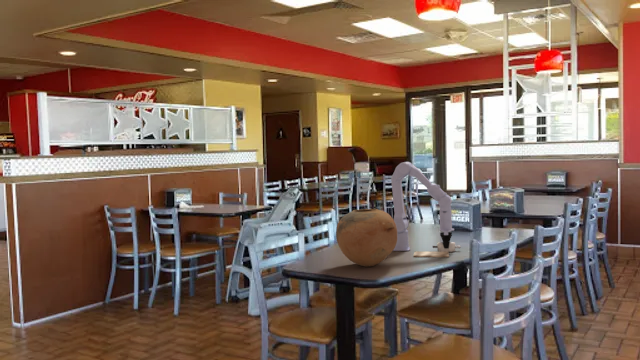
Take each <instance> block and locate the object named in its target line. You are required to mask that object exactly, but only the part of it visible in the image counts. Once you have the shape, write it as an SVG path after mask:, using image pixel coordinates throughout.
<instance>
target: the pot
mask: <svg viewBox="0 0 640 360" xmlns="http://www.w3.org/2000/svg"><path fill="white" fill-rule="evenodd" d="M335 229H336V231H335V232H336V233H335V237H336V243H337V244H338V247H339V249H340V251H341V252H342V254H343V255H344V256H345V258H347V259H348V261H350V262H351V263H354V264H355V265H358V266H361V267H365V268H367V267H374V266H377V265H379V264H380V263H381V264H382V262H383V261H385V260H386V259H387V257H389V256H390V255H391V253H393V252H394V251H393V250H394V248H395V246H396V243H397V227H396V224H395V222H394V217H392V216H391V215H390V213H388V212H386V211H384V210H380V209H378V208H366V209H365V208H364V209H353V210H352V211H350V212H348V213H346V214H345V215H343V216H342V217H341V218H340V220H339V221H338V223H337V224H336V228H335Z"/></svg>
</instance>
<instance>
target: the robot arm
mask: <svg viewBox="0 0 640 360" xmlns="http://www.w3.org/2000/svg"><path fill="white" fill-rule="evenodd" d="M407 176H409V177H413V178H416V179H417V180H418V181H419V182H420V183H421V184H422V185H423V186H424V187H425V188H426V190H427V191H426V192H427V193H428V194H429V195H430V196H431V197H432V199H434V200H435V201H436V202H437V203H438V205H439V231H440V233H439V235H440V238H441V239H442V242H443V246H444V248H449V243H450V242H451V238H452V236H453V233H452V231H453V232H454V231H455V228H453V224H452V223H453V221H452V220H453V219H452V217H453V216H452V205H451V204H452V202H453V200H452V197H451V196H450V195H449V194H447V192H445V191H444V190H443V189H442V188H441V185H440V184H437V183H432V181H430V180H429V179H428V178H427V176H425V175H424V173H422V171H421V170H420V169H419V168H418V167H417V166H415V165H413V163H412V162H410V161H404V162H400V163H399V164H398V165H397V166H396V167H395V169H394V172H393V174H392V176H391V178H390V181H391V190H392V200H393V209H394V210H393V211H394V215H393V220H394V222H395V224H396V227H397V243H396V246H395V248H394V250H393V251H392V252H394V251H396V252H398V251H399V252H401V251H402V252H403V251H404V252H409V251H410V250H411V247H410V245H409V243H410V241H409V230H408V228H409V224H410V223H409V220H408V219H407V214H406V211H405V203H404V193H403V184H402V183H403V182H402V181H403V180H404V179H405V178H406V177H407Z"/></svg>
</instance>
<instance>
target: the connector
mask: <svg viewBox="0 0 640 360" xmlns="http://www.w3.org/2000/svg"><path fill="white" fill-rule="evenodd" d="M432 248H433V249H437V252H453V253H454V252H456V249H461V245H456V242H454V241H450V243H449V248H444V246H443V241H442V242H441V241H439V242H437V245H432Z"/></svg>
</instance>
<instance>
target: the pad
mask: <svg viewBox="0 0 640 360" xmlns="http://www.w3.org/2000/svg"><path fill="white" fill-rule="evenodd" d="M449 257H450V253H449V252H440V251H414V253H413V258H449Z"/></svg>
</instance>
